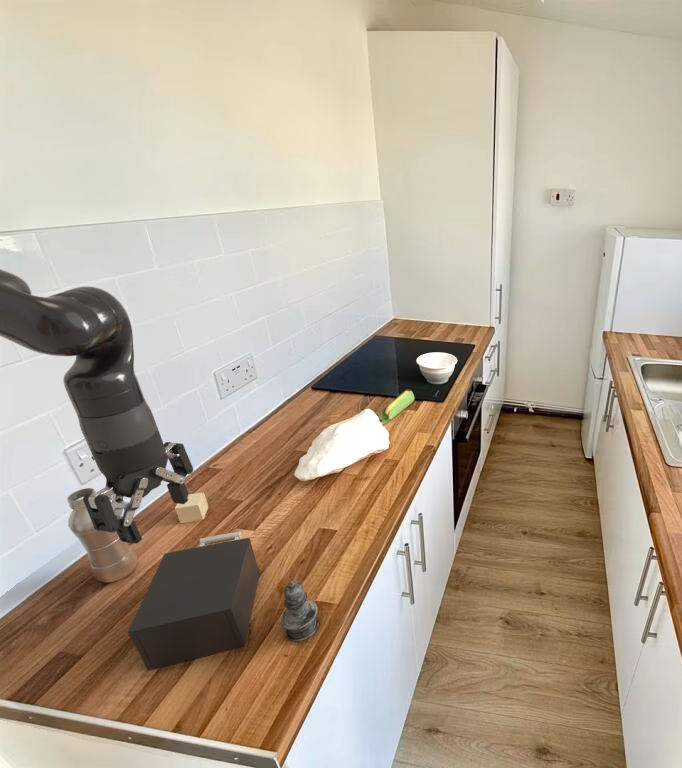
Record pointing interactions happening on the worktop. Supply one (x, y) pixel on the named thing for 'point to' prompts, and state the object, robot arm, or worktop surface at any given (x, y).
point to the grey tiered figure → (298, 613)
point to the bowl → (437, 366)
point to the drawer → (219, 539)
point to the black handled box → (197, 604)
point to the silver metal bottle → (100, 543)
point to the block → (192, 508)
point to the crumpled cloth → (343, 446)
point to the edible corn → (397, 406)
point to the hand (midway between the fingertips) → (158, 520)
